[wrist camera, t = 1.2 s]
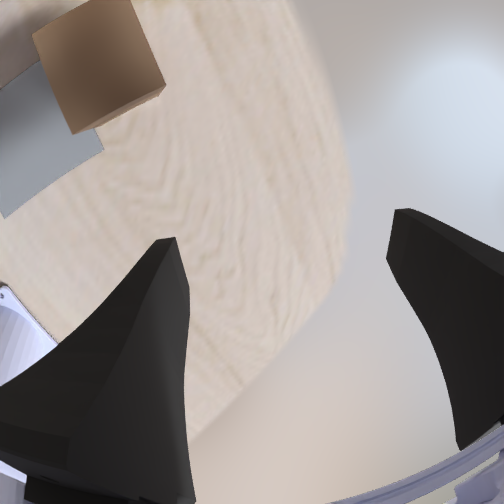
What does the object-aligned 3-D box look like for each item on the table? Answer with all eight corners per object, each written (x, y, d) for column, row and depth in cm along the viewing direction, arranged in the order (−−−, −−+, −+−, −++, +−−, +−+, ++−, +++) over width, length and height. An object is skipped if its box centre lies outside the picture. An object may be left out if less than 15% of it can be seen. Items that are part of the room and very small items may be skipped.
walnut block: (101, 125, 16) (72, 135, 9) (73, 61, 13) (31, 34, 6) (158, 96, 16) (166, 85, 10) (130, 32, 14) (123, -15, 7)
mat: (5, 218, 15) (4, 219, 15) (-38, 126, 11) (-40, 127, 11) (104, 149, 16) (103, 149, 16) (59, 48, 12) (58, 47, 12)
